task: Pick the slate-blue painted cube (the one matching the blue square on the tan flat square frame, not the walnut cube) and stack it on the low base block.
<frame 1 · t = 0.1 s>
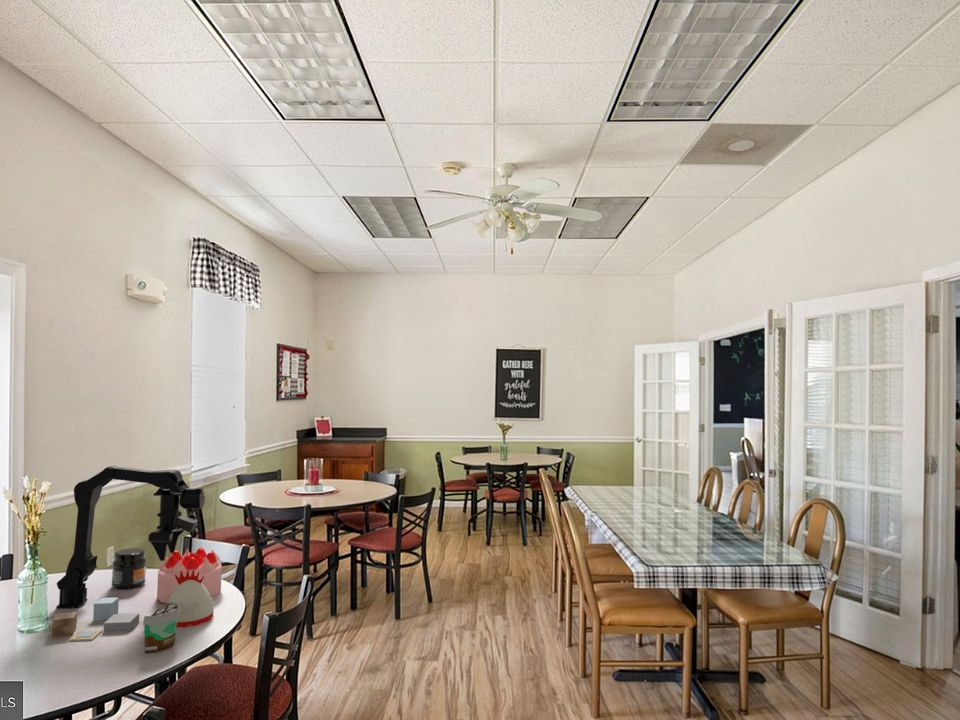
hand: (167, 556, 202), 15 cm above the table, fingers open, 9 cm apart
slate cube: (105, 617, 187), on the table
supplement container: (128, 586, 216), on the table
cake: (190, 595, 208), on the table
food container: (165, 646, 167), on the table
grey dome: (188, 619, 187), on the table
walnut cube: (64, 633, 174), on the table
base block: (121, 628, 179), on the table
tan flat square frame: (85, 636, 173), on the table
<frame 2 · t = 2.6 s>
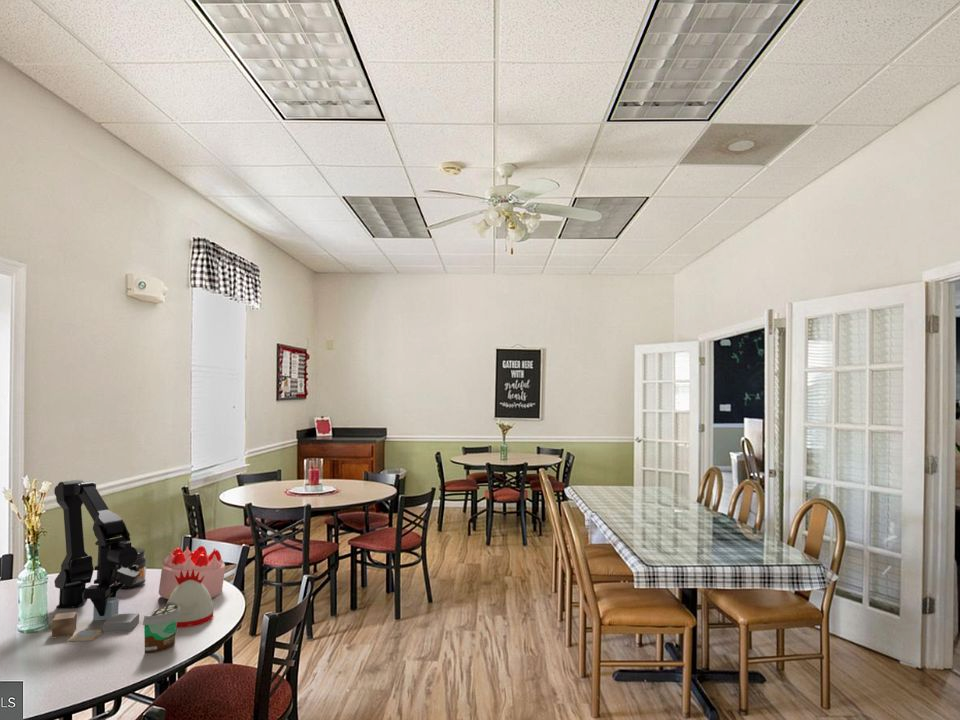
hand: (106, 612, 187), 1 cm above the table, fingers closed on slate cube, 5 cm apart
slate cube: (105, 616, 187), on the table, touching gripper
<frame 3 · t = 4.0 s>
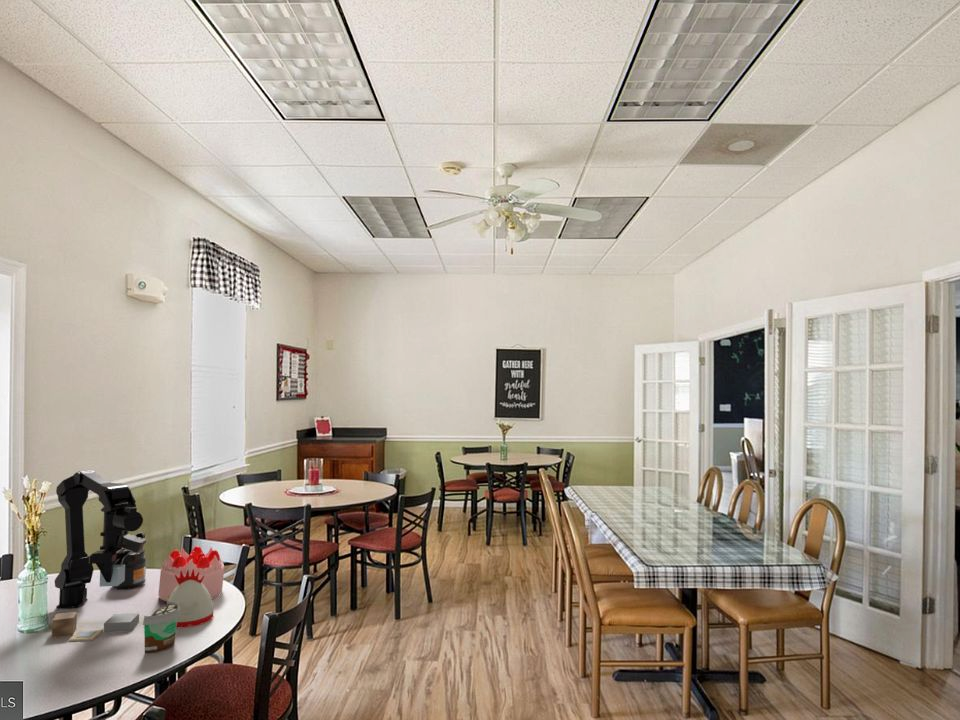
hand: (112, 579, 186), 12 cm above the table, fingers closed on slate cube, 5 cm apart
slate cube: (112, 583, 186), point 11 cm above the table, touching gripper
when the fingers open (5 cm above the table, at t = 6.0 s): slate cube drops 1 cm, resting on base block.
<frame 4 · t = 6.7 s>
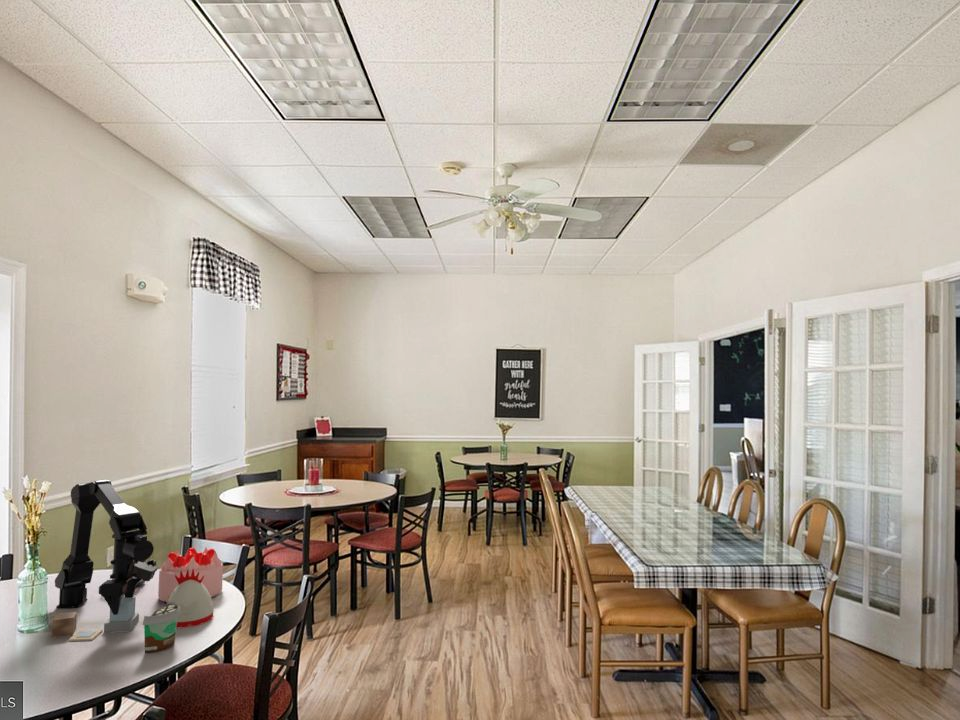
hand: (122, 608, 180), 5 cm above the table, fingers open, 9 cm apart
slate cube: (122, 618, 180), point 3 cm above the table, touching base block
base block: (121, 628, 179), on the table, touching slate cube
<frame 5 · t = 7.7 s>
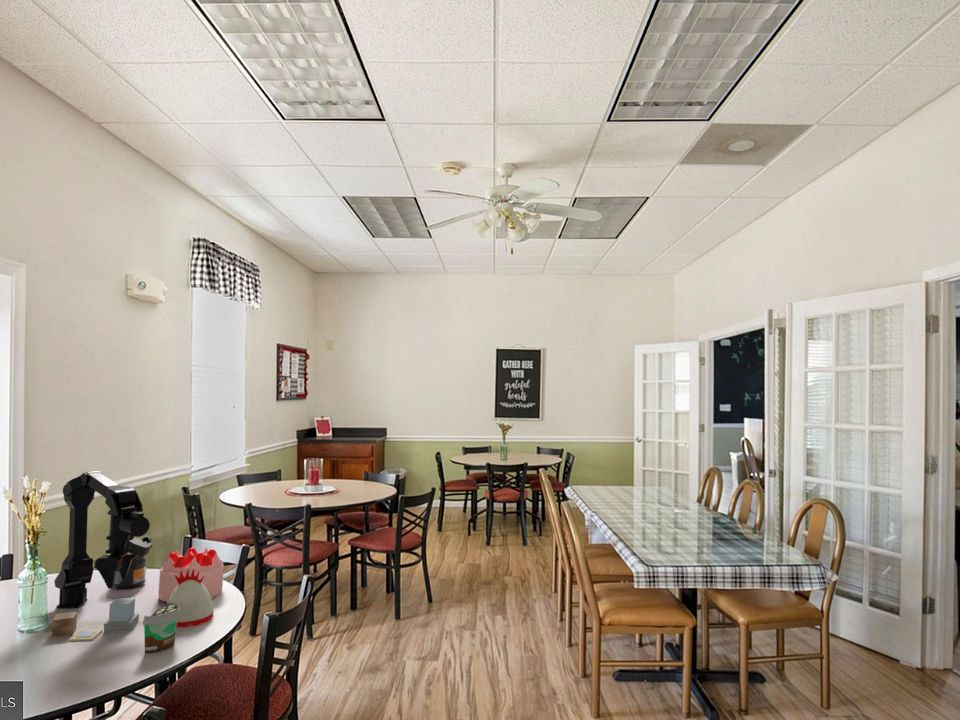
hand: (117, 583, 184), 11 cm above the table, fingers open, 9 cm apart
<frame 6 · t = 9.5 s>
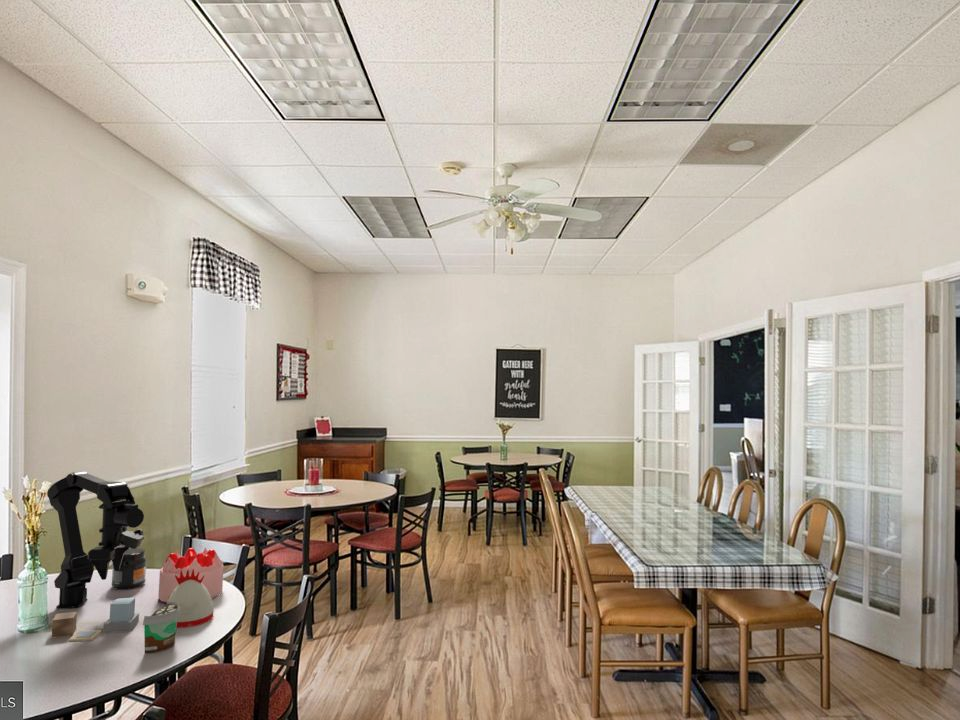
hand: (110, 574, 190), 12 cm above the table, fingers open, 9 cm apart
at the end: slate cube 0.1 cm off-centre on the base block, point 3.0 cm above the base block's base; slate cube tilted 0°; the gripper is holding nothing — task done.
